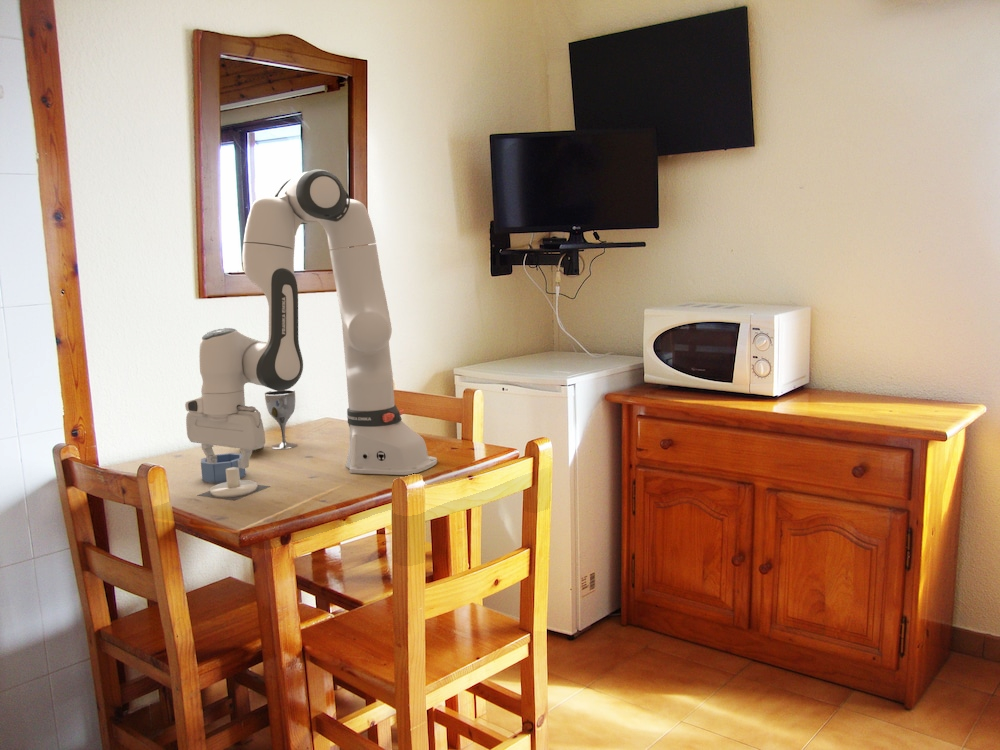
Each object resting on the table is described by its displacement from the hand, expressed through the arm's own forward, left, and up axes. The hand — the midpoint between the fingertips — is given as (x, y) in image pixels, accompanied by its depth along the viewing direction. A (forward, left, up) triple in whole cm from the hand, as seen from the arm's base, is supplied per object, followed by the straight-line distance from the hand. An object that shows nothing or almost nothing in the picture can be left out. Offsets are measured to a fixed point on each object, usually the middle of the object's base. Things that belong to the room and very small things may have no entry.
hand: (227, 465), depth 183 cm
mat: (-1, -1, -6) cm, 6 cm away
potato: (+23, -32, -7) cm, 40 cm away
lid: (-1, -1, -6) cm, 6 cm away
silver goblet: (+19, -40, -7) cm, 44 cm away
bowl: (+10, -9, -6) cm, 15 cm away
